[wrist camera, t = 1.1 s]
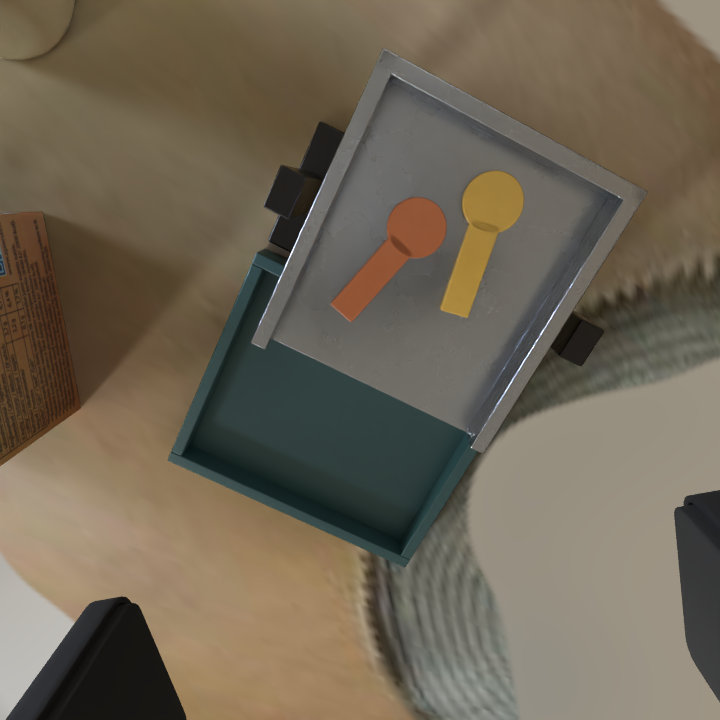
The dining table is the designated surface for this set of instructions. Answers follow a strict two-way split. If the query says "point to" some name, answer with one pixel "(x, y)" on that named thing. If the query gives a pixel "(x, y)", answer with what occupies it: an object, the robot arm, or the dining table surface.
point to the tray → (317, 437)
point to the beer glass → (32, 26)
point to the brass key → (481, 234)
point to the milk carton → (31, 337)
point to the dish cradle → (297, 197)
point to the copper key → (394, 252)
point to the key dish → (445, 251)
